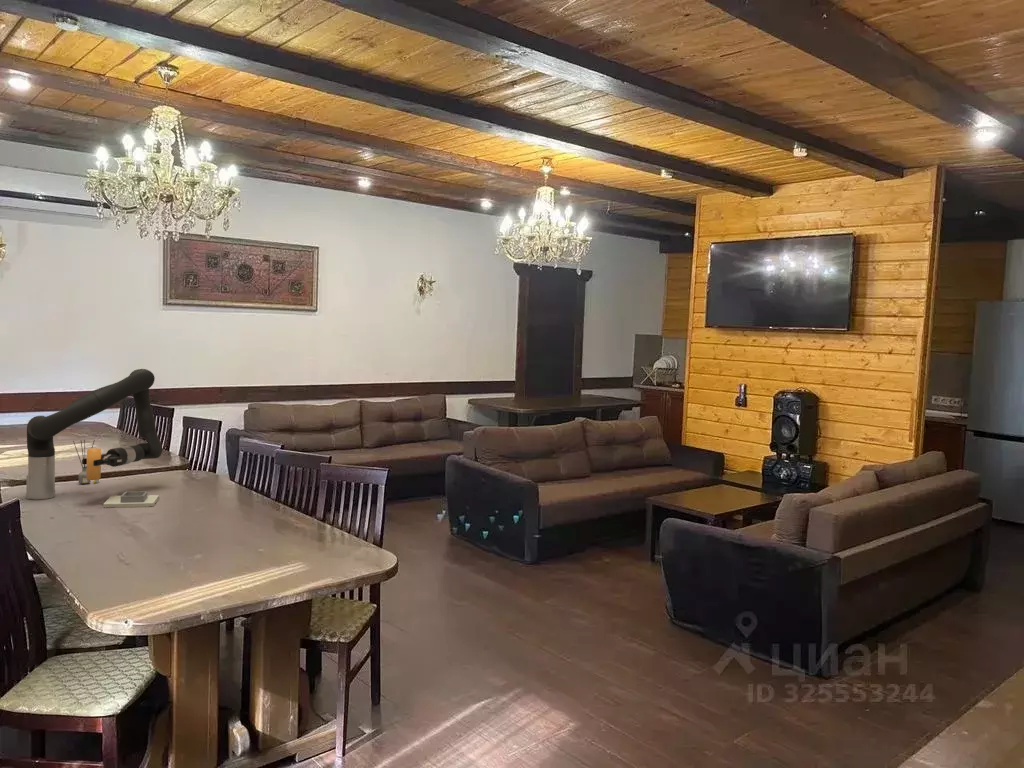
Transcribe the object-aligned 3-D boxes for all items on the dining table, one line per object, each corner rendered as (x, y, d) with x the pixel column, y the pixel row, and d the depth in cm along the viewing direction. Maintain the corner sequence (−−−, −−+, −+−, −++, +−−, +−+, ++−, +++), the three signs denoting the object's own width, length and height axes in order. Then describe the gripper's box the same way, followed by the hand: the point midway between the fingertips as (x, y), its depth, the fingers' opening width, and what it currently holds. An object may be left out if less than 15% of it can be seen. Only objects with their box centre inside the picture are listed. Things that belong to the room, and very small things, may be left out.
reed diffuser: (73, 485, 328) (73, 440, 327) (71, 482, 334) (71, 438, 332) (100, 483, 335) (100, 439, 333) (97, 480, 340) (97, 437, 339)
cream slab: (103, 507, 295) (103, 497, 295) (111, 499, 308) (111, 489, 308) (153, 506, 300) (153, 497, 300) (159, 498, 314) (159, 489, 313)
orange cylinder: (84, 480, 297) (85, 450, 296) (88, 477, 302) (88, 448, 301) (98, 480, 299) (99, 450, 298) (101, 477, 303) (102, 448, 303)
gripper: (107, 445, 315) (73, 451, 299) (135, 449, 312) (103, 455, 295) (106, 463, 316) (73, 470, 299) (135, 466, 312) (103, 473, 296)
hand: (88, 462), depth 297 cm, fingers closed on orange cylinder, 5 cm apart
